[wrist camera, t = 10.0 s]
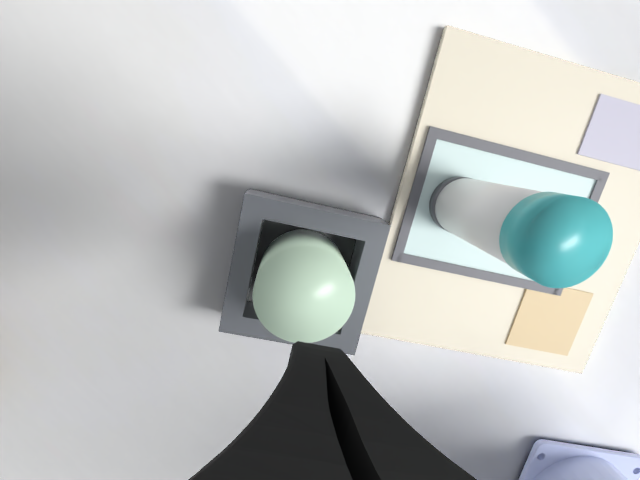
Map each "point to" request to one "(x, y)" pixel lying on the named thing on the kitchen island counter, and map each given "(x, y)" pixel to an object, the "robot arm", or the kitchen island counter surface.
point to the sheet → (514, 170)
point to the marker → (527, 228)
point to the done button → (303, 287)
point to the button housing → (310, 216)
